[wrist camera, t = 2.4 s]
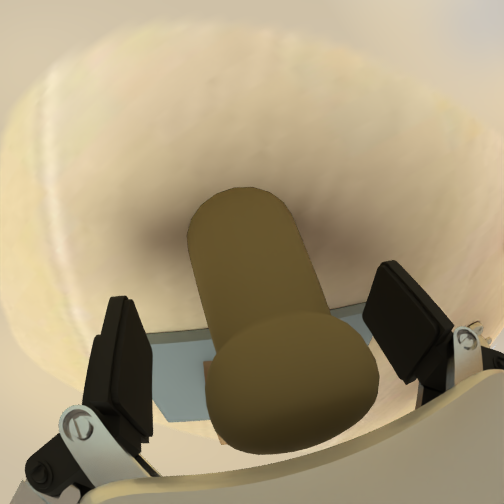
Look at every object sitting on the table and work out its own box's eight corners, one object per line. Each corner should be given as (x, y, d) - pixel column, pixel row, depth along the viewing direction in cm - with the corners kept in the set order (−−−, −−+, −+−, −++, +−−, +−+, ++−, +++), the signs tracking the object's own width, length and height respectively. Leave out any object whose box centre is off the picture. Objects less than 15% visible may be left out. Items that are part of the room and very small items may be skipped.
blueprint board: (378, 299, 20) (384, 307, 20) (340, 385, 28) (343, 392, 27) (123, 335, 17) (121, 345, 16) (167, 414, 25) (168, 422, 24)
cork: (220, 297, 17) (254, 474, 8) (165, 222, 13) (143, 446, 4) (307, 254, 16) (403, 415, 7) (270, 166, 13) (422, 339, 4)
